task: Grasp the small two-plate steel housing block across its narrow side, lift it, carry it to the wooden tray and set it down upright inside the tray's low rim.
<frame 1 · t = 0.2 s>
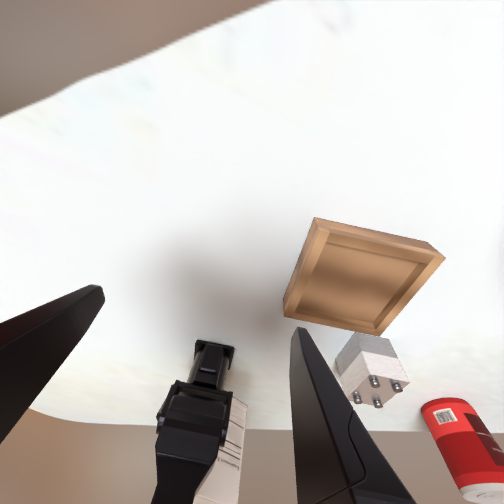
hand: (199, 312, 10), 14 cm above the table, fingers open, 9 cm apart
wooden tray: (346, 273, 25), on the table
canned food: (443, 405, 39), on the table
supplement box: (220, 400, 47), on the table
housing: (360, 349, 33), on the table
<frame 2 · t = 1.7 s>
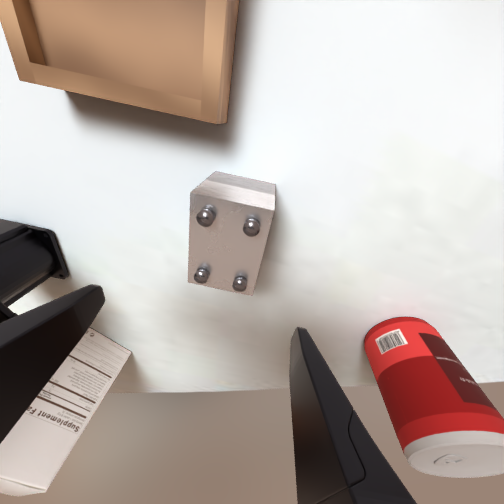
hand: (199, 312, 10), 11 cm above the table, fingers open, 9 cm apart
canned food: (395, 335, 26), on the table
supplement box: (96, 345, 34), on the table
housing: (239, 216, 19), on the table
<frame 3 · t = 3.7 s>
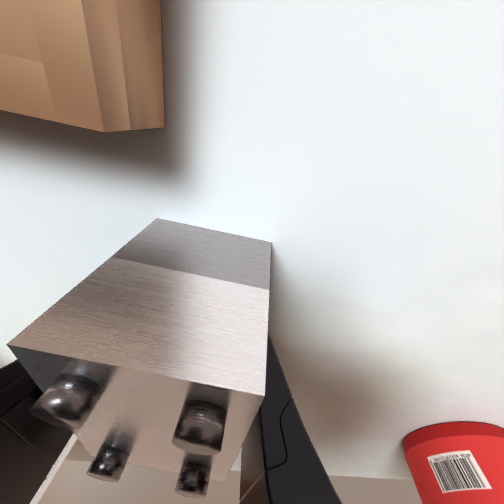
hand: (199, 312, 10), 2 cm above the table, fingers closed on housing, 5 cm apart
canned food: (451, 437, 17), on the table
supplement box: (37, 419, 25), on the table
housing: (208, 289, 11), on the table, touching gripper
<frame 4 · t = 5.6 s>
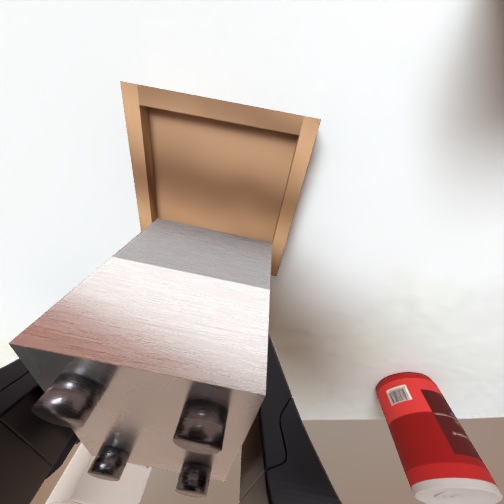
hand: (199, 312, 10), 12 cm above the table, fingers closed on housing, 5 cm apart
wooden tray: (223, 187, 18), on the table
canned food: (402, 384, 31), on the table
supplement box: (147, 387, 40), on the table
housing: (209, 289, 11), point 10 cm above the table, touching gripper
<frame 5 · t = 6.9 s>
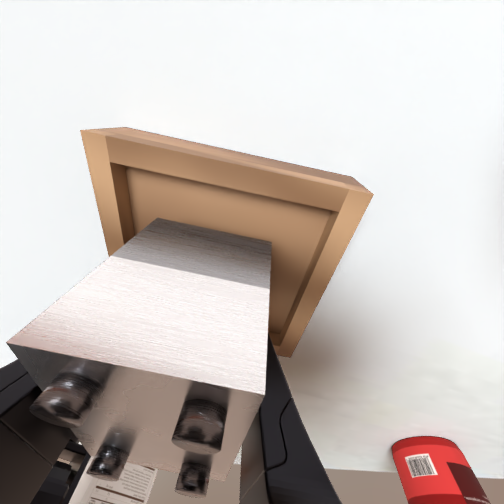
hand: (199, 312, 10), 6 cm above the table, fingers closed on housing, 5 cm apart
wooden tray: (226, 248, 14), on the table
canned food: (421, 445, 28), on the table
supplement box: (135, 429, 36), on the table
housing: (208, 289, 11), point 4 cm above the table, touching gripper
when the fingers open (4 cm above the table, at t = 8.0 s): housing stays where it is, resting on wooden tray.
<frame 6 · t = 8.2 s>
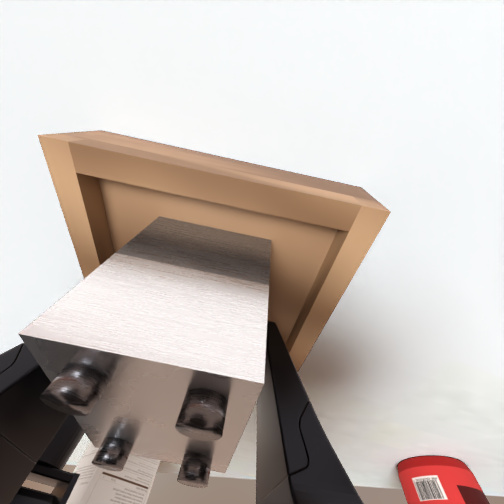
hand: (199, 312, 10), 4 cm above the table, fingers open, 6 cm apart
wooden tray: (219, 264, 13), on the table
canned food: (428, 463, 26), on the table
supplement box: (128, 443, 35), on the table
housing: (209, 286, 11), point 2 cm above the table, touching wooden tray
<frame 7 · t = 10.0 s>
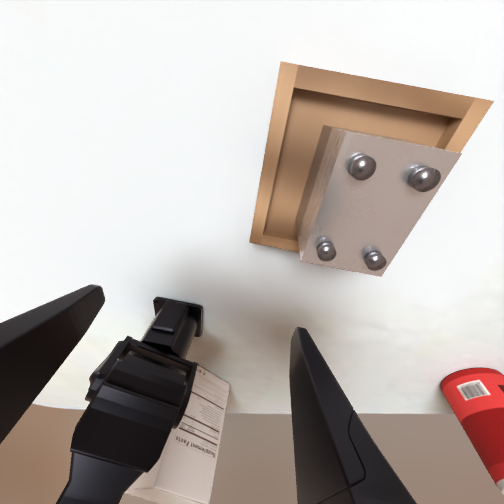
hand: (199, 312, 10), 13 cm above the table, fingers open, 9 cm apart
wooden tray: (335, 176, 18), on the table
canned food: (469, 379, 31), on the table
supplement box: (199, 379, 40), on the table
housing: (340, 184, 16), point 2 cm above the table, touching wooden tray
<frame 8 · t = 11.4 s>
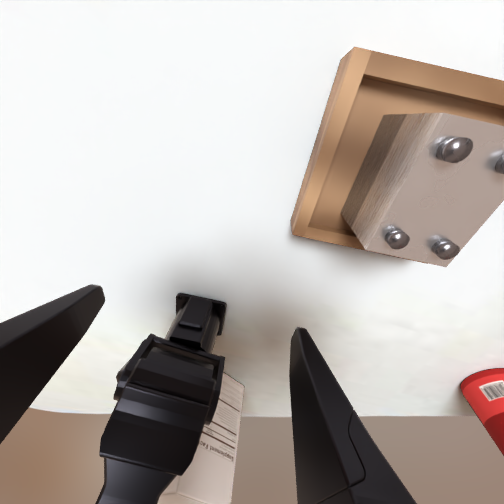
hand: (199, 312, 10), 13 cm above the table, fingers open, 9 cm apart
wooden tray: (381, 170, 18), on the table
canned food: (488, 380, 31), on the table
supplement box: (212, 380, 39), on the table
housing: (391, 176, 16), point 2 cm above the table, touching wooden tray
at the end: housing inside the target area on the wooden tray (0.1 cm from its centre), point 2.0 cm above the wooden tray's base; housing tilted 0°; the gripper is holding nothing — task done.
